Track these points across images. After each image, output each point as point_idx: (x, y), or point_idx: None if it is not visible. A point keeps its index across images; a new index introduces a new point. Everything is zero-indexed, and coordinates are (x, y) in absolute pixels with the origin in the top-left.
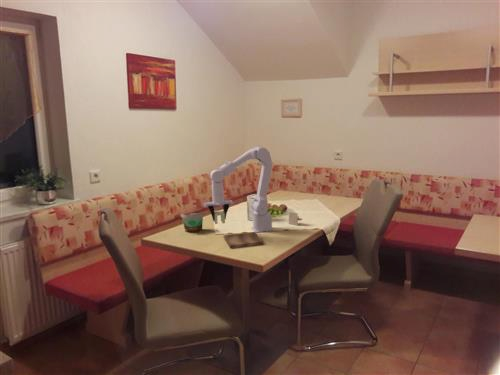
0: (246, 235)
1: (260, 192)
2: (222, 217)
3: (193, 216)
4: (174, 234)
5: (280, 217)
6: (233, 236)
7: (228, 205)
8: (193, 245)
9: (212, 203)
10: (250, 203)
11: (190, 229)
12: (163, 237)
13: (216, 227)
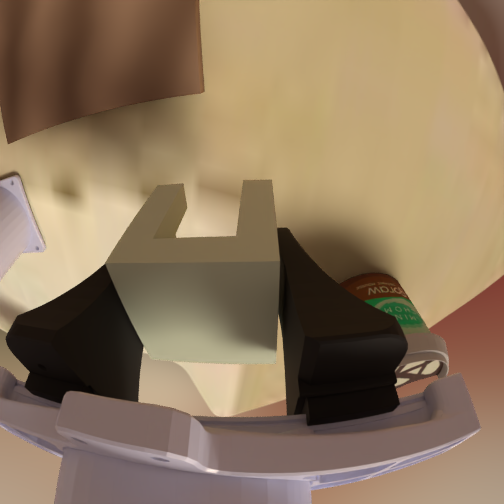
0: (44, 71)
1: None
2: (162, 219)
3: (413, 348)
4: (455, 269)
5: (5, 328)
6: (126, 51)
7: (30, 371)
8: (438, 37)
9: (346, 471)
10: None
11: (397, 287)
12: (498, 244)
13: None
